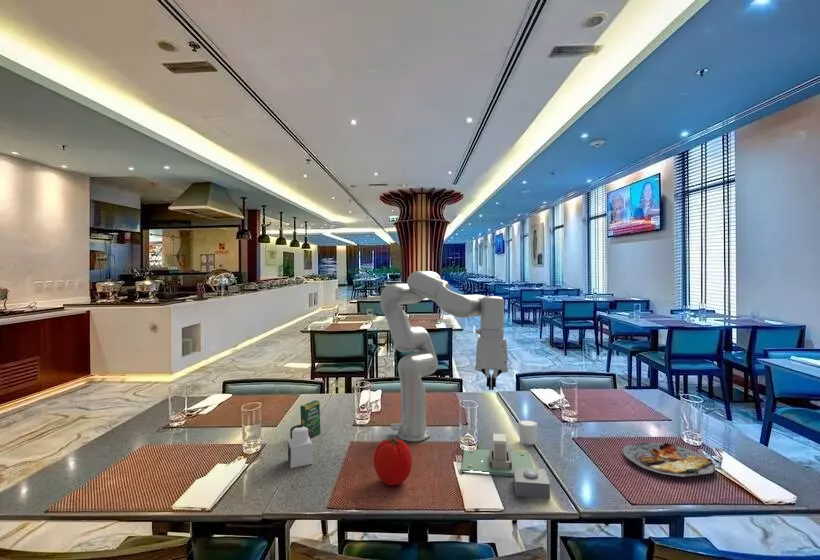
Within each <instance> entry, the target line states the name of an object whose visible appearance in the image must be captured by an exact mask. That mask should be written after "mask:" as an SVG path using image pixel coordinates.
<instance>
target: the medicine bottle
mask: <svg viewBox="0 0 820 560" xmlns="http://www.w3.org/2000/svg"><path fill="white" fill-rule="evenodd" d="M289 430H290V433H289V434H290V435H289V437H290V438H289V439H287V461H288V464H289V467H290V468H291V469H294V468H300V467H305V466H306V467H307V466H310V464H311V465H313V442H312V440H311V438H309V427H308V426H307V425H301V424H296V425H294V426H292V427H291V428H290V429H289Z"/></svg>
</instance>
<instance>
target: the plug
mask: <svg viewBox="0 0 820 560" xmlns="http://www.w3.org/2000/svg"><path fill="white" fill-rule="evenodd" d="M492 435H493V436H492V438H493V439H492V440H493V442H492V444H493V445H492V446H493V449H492V450H493V452H494V460H495V461H507V451H508V450H507V434H505V433H492Z"/></svg>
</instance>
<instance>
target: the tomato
mask: <svg viewBox="0 0 820 560" xmlns="http://www.w3.org/2000/svg"><path fill="white" fill-rule="evenodd" d="M372 459H373V460H372V461H373V466H374V470H375V472H376V476H378V479H379V480H380V481H381V482H382V483H383V484H386V485H388V486H396V485H398V486H399V485H401V484H403V482H405V481H406V480H407V479H408V477H409V476H410V473H411V471H412V466H413V457H412V453H411V450H410V448H409V446H408V444H407V443H406V441H405V440H402V439H400V438H399V437H397V438H395V437H394V438H390V437H387V439H383V440H382V441H381V442H380V443H379V444H378V446H377V447H376V449H375V451H374V454H373V458H372Z"/></svg>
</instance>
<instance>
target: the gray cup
mask: <svg viewBox="0 0 820 560" xmlns="http://www.w3.org/2000/svg"><path fill="white" fill-rule="evenodd" d="M517 422H518V431H519V432H518V433H519V441H520V443H522V444H523V445H527V446H529V445H530V446H533V445H536V444H537V436H538V435H537V433H538V422H537V421H535V420H530V419H522V420H519V421H517Z"/></svg>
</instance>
